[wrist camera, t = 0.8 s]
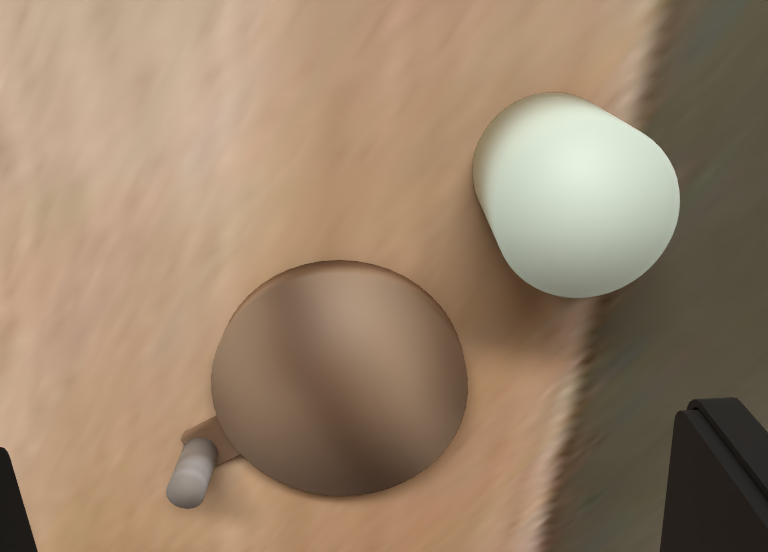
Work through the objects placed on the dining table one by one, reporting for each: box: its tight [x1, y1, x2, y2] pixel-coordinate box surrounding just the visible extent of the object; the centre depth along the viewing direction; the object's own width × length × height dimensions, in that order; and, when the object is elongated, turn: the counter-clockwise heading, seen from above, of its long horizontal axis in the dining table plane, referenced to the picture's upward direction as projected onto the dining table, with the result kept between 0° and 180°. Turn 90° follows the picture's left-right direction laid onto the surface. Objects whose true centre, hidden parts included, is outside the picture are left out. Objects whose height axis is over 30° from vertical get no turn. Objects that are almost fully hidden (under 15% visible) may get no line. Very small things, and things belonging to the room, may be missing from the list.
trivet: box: [166, 260, 468, 509], centre depth 31 cm, size 14×11×4 cm
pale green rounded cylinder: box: [473, 92, 680, 298], centre depth 27 cm, size 8×6×6 cm
